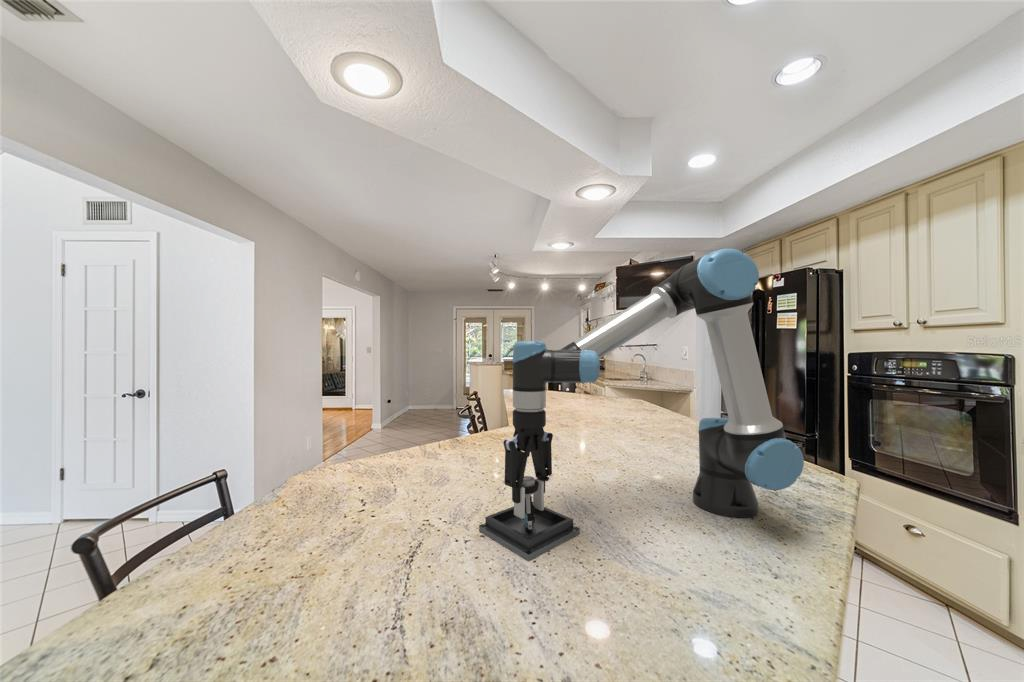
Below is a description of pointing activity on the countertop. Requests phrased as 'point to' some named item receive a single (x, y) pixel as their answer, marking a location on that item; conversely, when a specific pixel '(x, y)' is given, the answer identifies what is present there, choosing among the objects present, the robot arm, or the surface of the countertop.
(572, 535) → the grey metal square tray
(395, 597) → the countertop surface
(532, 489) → the push button
